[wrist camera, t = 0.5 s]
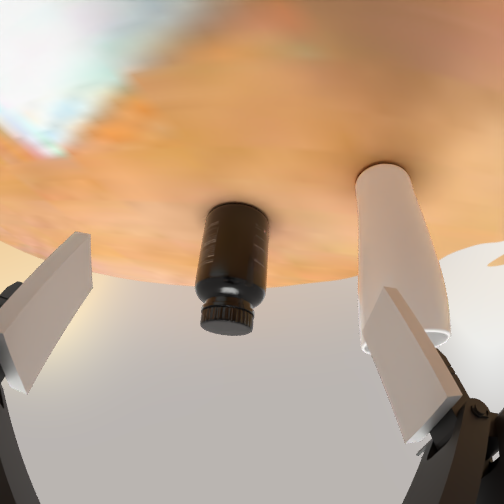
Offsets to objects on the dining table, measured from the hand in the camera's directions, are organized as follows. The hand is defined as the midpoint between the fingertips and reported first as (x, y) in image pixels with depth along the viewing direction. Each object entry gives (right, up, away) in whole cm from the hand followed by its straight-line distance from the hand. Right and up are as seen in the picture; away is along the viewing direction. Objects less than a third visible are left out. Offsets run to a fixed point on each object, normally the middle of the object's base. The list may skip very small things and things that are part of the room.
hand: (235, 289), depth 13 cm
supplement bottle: (-1, +5, +21) cm, 22 cm away
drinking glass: (+13, +8, +14) cm, 20 cm away
